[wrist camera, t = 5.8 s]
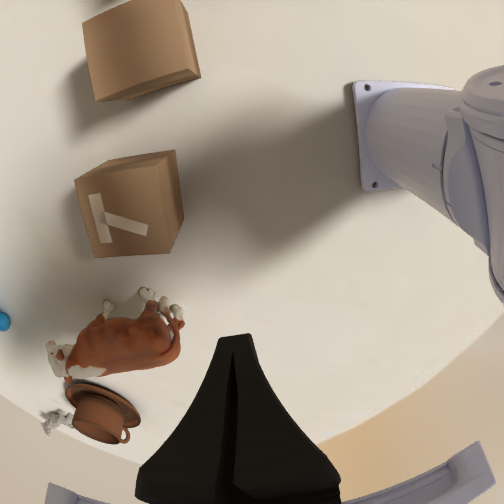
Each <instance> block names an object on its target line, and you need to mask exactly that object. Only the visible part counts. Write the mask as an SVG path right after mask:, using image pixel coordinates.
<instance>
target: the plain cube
mask: <svg viewBox="0 0 504 504" xmlns="http://www.w3.org/2000/svg"><path fill="white" fill-rule="evenodd" d="M82 27H83V35H84V42H85V49H86V56H87V62H88V67H89V73H90V78H91V83H92V88H93V93H94V98H95V101H110V100H129V99H132V98H135V97H138V96H141V95H143V94H146V93H149V92H152V91H155V90H159V89H162V88H165V87H168V86H172V85H175V84H179V83H182V82H186V81H190V80H194V79H198V78H201V74H200V69H199V64H198V60H197V55H196V50H195V45H194V41H193V36H192V31H191V26H190V21H189V16H188V12H187V11H186V9H185V7H184V6H183V4H182V2H181V1H180V0H131V1H129V2H126V3H124V4H121V5H119V6H117V7H114V8H112V9H110V10H108V11H105V12H103V13H101V14H99V15H97V16H95V17H93V18H91V19H89V20H87V21H85V22H83V23H82Z"/></svg>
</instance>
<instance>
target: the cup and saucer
mask: <svg viewBox="0 0 504 504" xmlns="http://www.w3.org/2000/svg"><path fill="white" fill-rule="evenodd" d="M65 395H66V397H67V399H68V401H69V402H70V403H71V404H72V405H73V406H74V407H75V408H76V411H75V414H74V417H73V420H72V425H73V427H74V428H75V429H76V430H78V431H79V432H80V433H82V434H84V435H85V436H87V437H89V438H92V439H94V440H97V441H99V442H103V443H107V444H119V443H123V444H125V443H127V442H128V441H129V440H130V433H129V431H128V429H127V428H134V427H137V426H138V425H139V424H140V422H141V418H140V415H139V413H138V412H137V410H136V409H135V408H134V407H133V406H132V405H131V404H130V403H129V402H128V401H126V400H125V399H123V398H122V397H120V396H118V395H117V394H115V393H113V392H111V391H108V390H106V389H103V388H101V387H98V386H94V385H90V384H73V385H70V386H69V387H68V388H67V389H66V391H65ZM122 429H123V430H124V431H125V432H126V439H124V440H122V439H121V434H122Z"/></svg>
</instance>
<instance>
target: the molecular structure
mask: <svg viewBox="0 0 504 504" xmlns="http://www.w3.org/2000/svg"><path fill="white" fill-rule="evenodd" d="M9 327H10V319H9V317H8V316H7V315H6V314H5V313H0V330H1V331H6V330H8V329H9Z"/></svg>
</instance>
